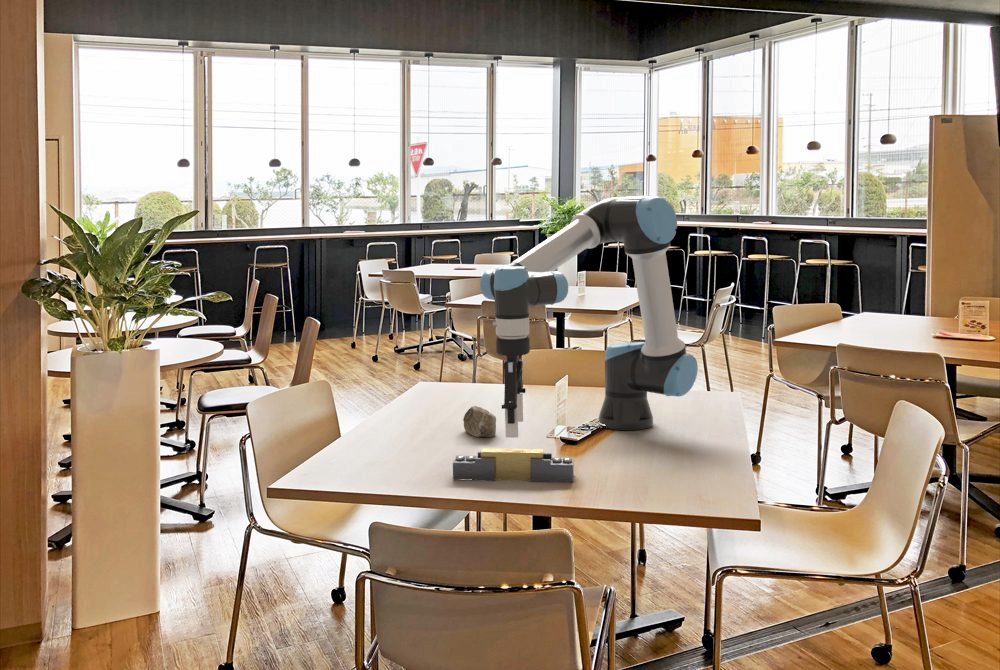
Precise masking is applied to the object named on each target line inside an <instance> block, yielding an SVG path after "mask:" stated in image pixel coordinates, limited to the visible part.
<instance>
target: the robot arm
mask: <svg viewBox="0 0 1000 670" xmlns="http://www.w3.org/2000/svg"><path fill="white" fill-rule="evenodd" d="M677 229H678V218H677V214H676V211H675V209H674V207H673V205H672V204H671V203H670V202H669V201H668V200H666V198H664V197H662V196H652V195H636V196H633V195H632V196H613V197H608V198H605V199H603V200H600V201H598V202H596V203H594V204H593V205H590V206H588V207H587V208H585V209H584V210H582V211H580V212H579V213H578V214H576V215H575V216H573V217H572V219H571V220H570V224H568V225H566V226H565V227H563V228H562V229H560V230H559V231H557V232H556V233H554V234H553V235H551V236H549V237H548V238H547V239H545V240H543V241H542V242H541V243H539V244H537V245H536V246H534V247H533V248H531V249H530V250H528V251H527V252H526V253H524V254H523V255H521V256H519V257H518V258H516V259H515V260H512V262H510V263H508V264H507V265H505V266H499V267H497V268H492V269H491V268H490V269H487V270H486V271H484V272H483V274H482V276H481V278H480V282H479V288H480V292H481V294H482V295H483V297H484V298H486V299H487V300H491V301H492V300H493V301H494V313H495V316H494V317H495V321H493V322H492V326H495V335H496V336H497V337H496V338H495V353H496V354H497V355H499V356H505V357H506V360H505V361H504V363H503V371H504V375H503V379H504V398H503V402H504V403H503V404H501V409H502V410H504V416H505V417H504V421H505V422H504V424H505V425H504V426H505V438H517V439H518V438H519V423H522V422H524V404H523V403H524V401H523V399H524V395H523V394H526V388H525V387H524V384H523V368H524V367H523V366H524V363H523V360H522V356H525V355H528V354H529V353H530V351H531V349H530V348H531V347H530V342H531V341H530V337H529V334H530V333H531V332H530V329H531V328H530V308H533V307H540V306H547V305H551V306H552V305H554V304H558V303H563V301H564V300H565V299H566V298H567V296H568V294H569V282H568V280H567V278H566V276H565V275H564V273H562V272H560V271H557V269H559V268H560V267H561V266H563V265H565V263H567V262H568V261H570V260H571V259H573V258H575V257H576V256H577V255H579V254H580V253H582V252H583V251H584V250H586V249H590V250H591V249H594V248H597V246H599V245H601V244H606V243H612V242H613V243H614V242H615V243H623V248H624V253H625V255H627V256H628V257H630V258H631V259H632V265H633V267H632V268H633V272H634V279H635V284H636V291H637V297H638V303H639V308H640V309H639V311H640V316H641V321H642V323H641V324H642V327H643V333H644V340H645V341H638V342H637V341H633V342H622V343H614V344H611V345H609V346H607V348H606V350H605V358H604V375H605V376H604V382H605V383H604V391H605V392H604V399H603V402H602V405H601V408H600V411H599V415H598V423H599V422H600V423H602V424H605V425H606V428H605V429H610V430H616V431H617V430H619V431H639V430H645V429H649V428H651V427H653V425H654V416H653V413H652V409H651V406H650V403H649V400H648V393H653V394H657V395H663V396H665V397H682V396H684V395H686V394H688V393H689V392H690V390H691V389H692V388H693V386H694V383H695V382H696V380H697V377H698V367H699V366H698V361H697V358H696V357H695V356H694V355H693V354H691V353H687V348H686V344H685V343H686V342H685V341H684V340H682V339H681V338H679V334H678V328H677V322H676V321H677V320H676V315H675V309H674V302H673V301H674V300H673V294H672V287H671V286H672V285H671V281H670V276H669V275H670V274H669V273H670V272H669V268H668V260H667V255H666V254H667V253H666V252H667V251H669V250H668V249H670V247H671V241H672V240H673V239H674V237H675V236H676V233H677Z"/></svg>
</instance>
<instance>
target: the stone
mask: <svg viewBox="0 0 1000 670" xmlns="http://www.w3.org/2000/svg"><path fill="white" fill-rule="evenodd" d="M462 421H463V428H464V430H465V431H466V432H467V433H468V434H470V435H472V436H473V437H475V438H483V437H487V438H492V437H493V438H494V437H496V434H497V417H496V415H494V414H493V413H491V412H490V411H489V410H487V409H485V408H483V407H480V406H477V405H474V406H470V408H468V410H466V412H465V413H464V416H463V420H462Z"/></svg>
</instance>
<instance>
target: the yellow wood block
mask: <svg viewBox="0 0 1000 670" xmlns="http://www.w3.org/2000/svg"><path fill="white" fill-rule="evenodd" d="M480 452H481V458H495V480H499V479H501V480H507V481H530V459H544V458H543V453H544V449H543V448H542V449H538V448H537V449H536V448H535V449H533V448H531V449H529V448H528V449H527V448H489V447H488V448H487V447H486V448H481V450H480Z"/></svg>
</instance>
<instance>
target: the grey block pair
mask: <svg viewBox="0 0 1000 670" xmlns="http://www.w3.org/2000/svg"><path fill="white" fill-rule="evenodd" d="M543 458H544V459H530V480H529V481H530V483H532V482H533V483H568V484H569V483H571V484H572V483H574V467H575V466H574V465H575V464H574V461H575V458H574V457H570V456H569V457H568V456H567V457H560V456H559V457H558V456H553V455H552V452H543ZM453 479H472V480H471V481H477V480H491V481H490V482H495V481H496V479H495V458H481V451H477V455H463V454H460V455H456V456H455V457H454V459H453V461H452V480H453Z"/></svg>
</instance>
